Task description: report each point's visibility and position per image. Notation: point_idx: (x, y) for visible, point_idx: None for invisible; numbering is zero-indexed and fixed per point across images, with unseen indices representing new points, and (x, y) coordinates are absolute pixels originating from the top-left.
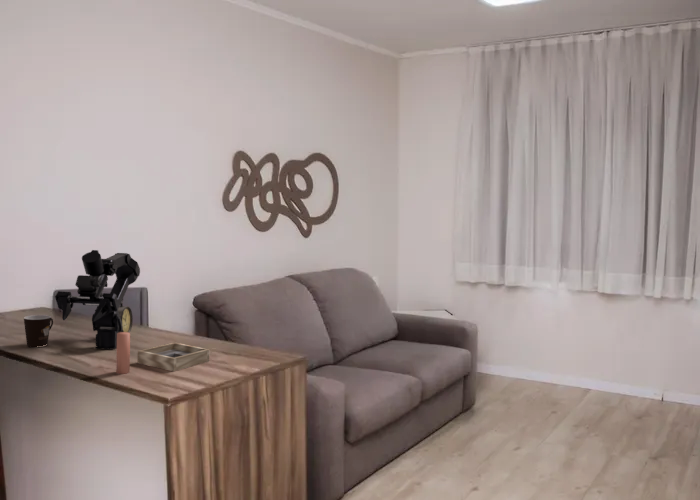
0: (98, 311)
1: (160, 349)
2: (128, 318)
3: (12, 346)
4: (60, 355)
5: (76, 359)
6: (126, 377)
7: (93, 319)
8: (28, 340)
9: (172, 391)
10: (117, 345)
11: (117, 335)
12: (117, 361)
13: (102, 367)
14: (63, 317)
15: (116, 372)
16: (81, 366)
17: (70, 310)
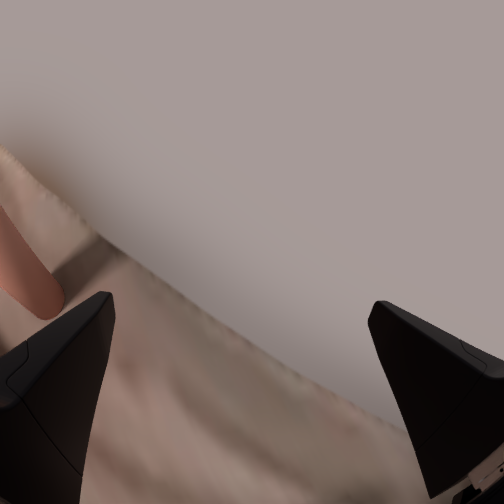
0: (40, 332)
1: None
2: None
3: None
4: (349, 494)
5: (268, 466)
6: (37, 247)
7: (102, 291)
8: None
9: None
10: (20, 234)
11: (1, 206)
12: (44, 266)
13: (120, 362)
14: (381, 302)
15: (62, 289)
16: (202, 371)
17: (432, 471)
